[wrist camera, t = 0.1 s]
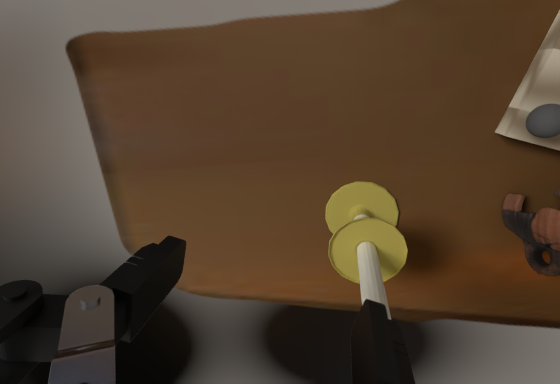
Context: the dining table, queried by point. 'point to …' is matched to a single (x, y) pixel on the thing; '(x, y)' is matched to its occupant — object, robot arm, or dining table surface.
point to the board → (536, 91)
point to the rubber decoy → (544, 121)
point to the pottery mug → (535, 232)
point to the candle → (365, 237)
